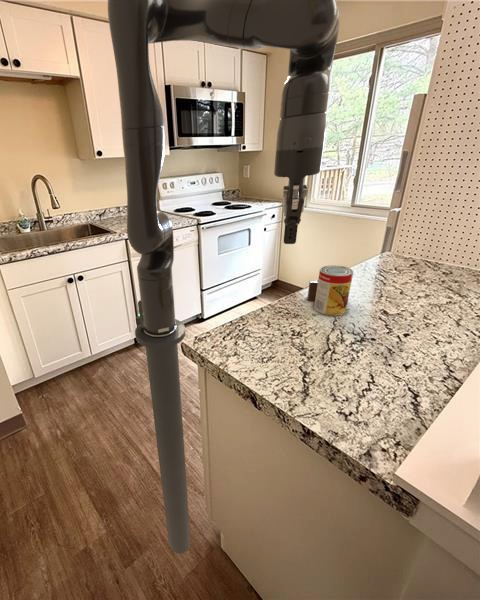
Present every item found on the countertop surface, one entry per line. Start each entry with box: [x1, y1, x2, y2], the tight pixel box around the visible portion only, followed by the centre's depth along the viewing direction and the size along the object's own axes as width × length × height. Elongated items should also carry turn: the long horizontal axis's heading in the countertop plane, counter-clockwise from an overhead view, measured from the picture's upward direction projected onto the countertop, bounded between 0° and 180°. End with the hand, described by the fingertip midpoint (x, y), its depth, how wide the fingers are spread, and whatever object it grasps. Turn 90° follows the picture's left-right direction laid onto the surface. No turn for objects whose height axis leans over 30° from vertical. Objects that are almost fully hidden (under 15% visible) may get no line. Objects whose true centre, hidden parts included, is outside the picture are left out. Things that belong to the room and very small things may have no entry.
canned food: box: [313, 264, 354, 317], centre depth 87 cm, size 8×8×12 cm
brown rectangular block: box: [306, 279, 318, 302], centre depth 93 cm, size 10×2×6 cm, turn 68°
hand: (289, 242), depth 61 cm, fingers closed
